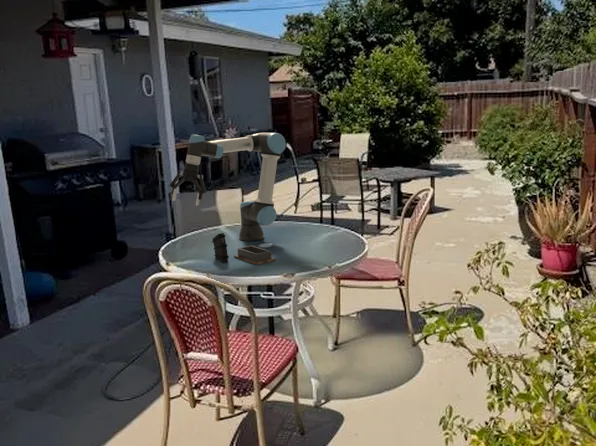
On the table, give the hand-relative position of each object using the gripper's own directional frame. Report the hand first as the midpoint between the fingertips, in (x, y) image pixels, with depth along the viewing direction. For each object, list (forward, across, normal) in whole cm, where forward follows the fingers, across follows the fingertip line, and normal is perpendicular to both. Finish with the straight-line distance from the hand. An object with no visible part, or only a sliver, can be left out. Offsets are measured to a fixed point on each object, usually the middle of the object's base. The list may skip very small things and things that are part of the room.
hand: (185, 203), depth 297 cm
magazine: (+26, +25, +2) cm, 36 cm away
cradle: (+21, +42, +5) cm, 47 cm away
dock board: (+22, +42, +6) cm, 48 cm away
